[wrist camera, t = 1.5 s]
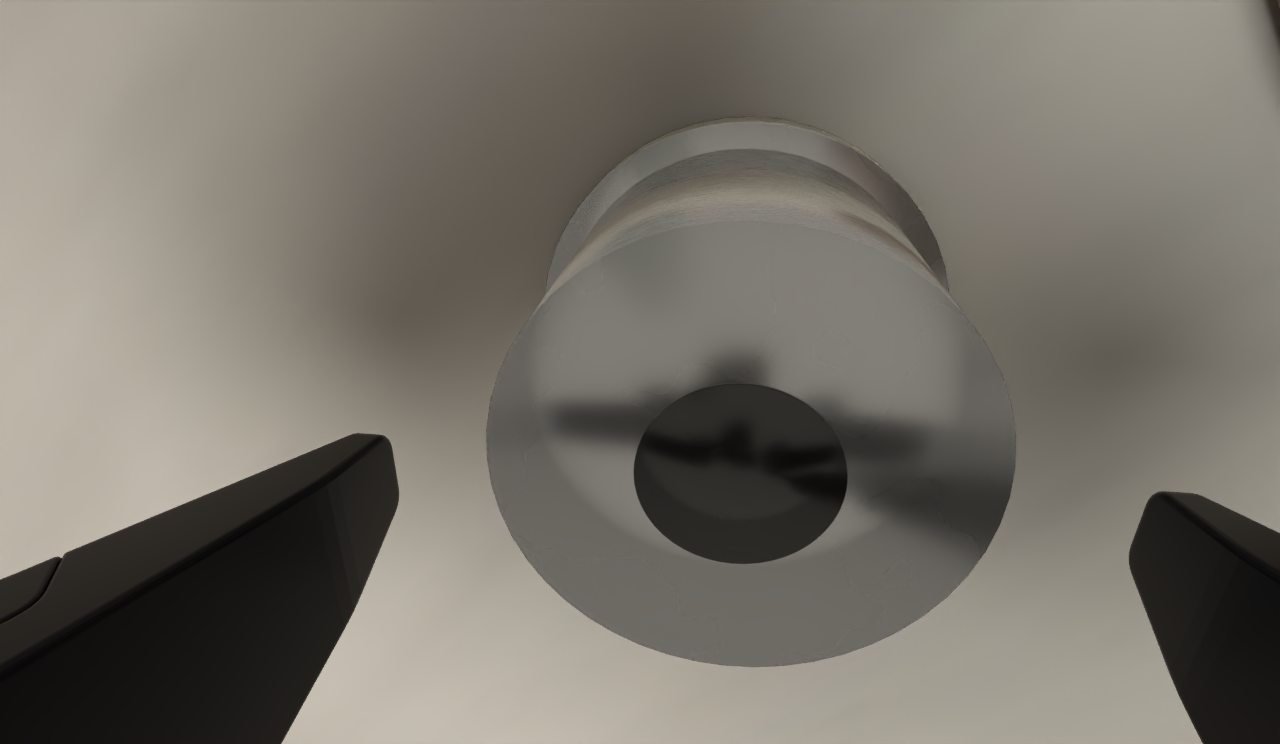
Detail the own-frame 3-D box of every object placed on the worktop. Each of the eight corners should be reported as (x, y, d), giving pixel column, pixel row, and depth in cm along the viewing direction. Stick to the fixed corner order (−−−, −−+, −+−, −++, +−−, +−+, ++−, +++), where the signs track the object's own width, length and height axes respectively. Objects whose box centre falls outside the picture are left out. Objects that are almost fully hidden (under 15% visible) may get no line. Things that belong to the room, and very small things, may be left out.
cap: (903, 487, 15) (983, 716, 10) (561, 461, 16) (479, 663, 11) (975, 120, 12) (1139, 195, 7) (544, 111, 13) (420, 173, 8)
